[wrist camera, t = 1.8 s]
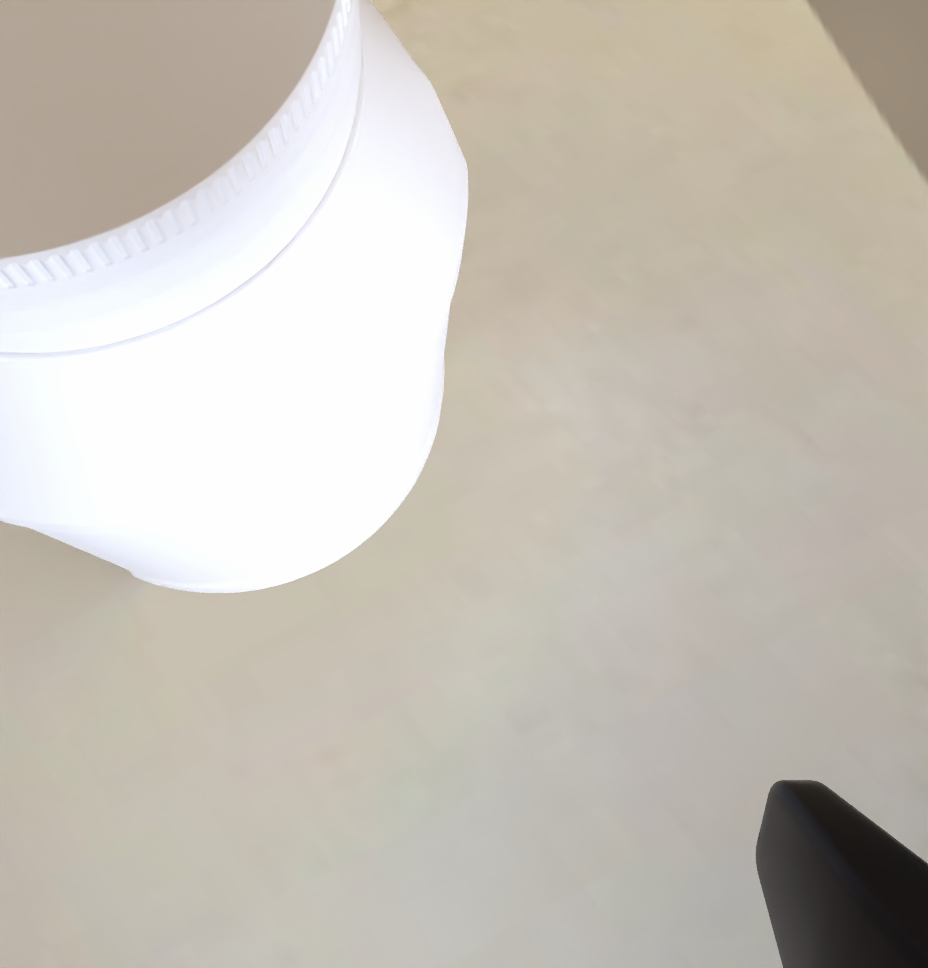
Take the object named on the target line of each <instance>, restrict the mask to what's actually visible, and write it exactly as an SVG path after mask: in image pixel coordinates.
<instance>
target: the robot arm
mask: <svg viewBox="0 0 928 968" xmlns="http://www.w3.org/2000/svg"><path fill="white" fill-rule="evenodd" d="M756 864H757V871H758V875H759V879H760V883H761V886H762V890H763V894H764V898H765V901H766V905H767V909H768V912H769V916H770V920H771V924H772V927H773V931H774V935H775V939H776V942H777V946H778V950H779V954H780V957H781V961H782V965H783V968H928V863H926V862H925V861H924V860H922V859H921V858H920V857H918V856H917V855H916V854H914V853H913V852H912V851H911V850H909V849H908V848H907V847H905V846H904V845H903V844H901V843H900V842H899V841H897V840H896V839H895V838H893V837H892V836H891V835H890V834H888V833H887V832H886V831H884V830H883V829H882V828H880V827H879V826H878V825H876V824H875V823H874V822H873V821H871V820H870V819H869V818H867V817H866V816H865V815H863V814H862V813H861V812H859V811H858V810H857V809H856V808H854V807H853V806H852V805H850V804H849V803H848V802H846V801H845V800H844V799H842V798H841V797H840V796H838V795H837V794H836V793H835V792H833V791H832V790H831V789H829V788H828V787H827V786H825V785H823V784H822V783H820V782H818V781H812V780H782V781H778V782H776V783H775V784H773V786H772V787H771V789H770V792H769V794H768V799H767V803H766V807H765V811H764V815H763V820H762V824H761V828H760V832H759V836H758V841H757V846H756Z"/></svg>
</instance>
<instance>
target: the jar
mask: <svg viewBox="0 0 928 968" xmlns="http://www.w3.org/2000/svg"><path fill="white" fill-rule="evenodd" d="M467 208H468V169H467V164H466V161H465V159H464V156H463V154H462V151H461V149H460V147H459V144H458V142H457V140H456V137H455V135H454V133H453V130H452V128H451V126H450V123H449V121H448V119H447V117H446V114H445V112H444V110H443V107H442V105H441V103H440V101H439V99H438V96H437V94H436V92H435V90H434V88H433V86H432V84H431V82H430V80H429V79H428V77H427V76H426V75H425V74H424V72H423V71H422V70H421V69H420V68H419V66H418V65H417V64H416V62H415V61H414V60H413V58H412V57H411V56H410V54H409V53H408V51H407V50H406V49H405V47H404V46H403V44H402V43H401V42H400V40H399V39H398V37H397V36H396V35H395V33H394V32H393V30H392V29H391V28H390V26H389V25H388V23H387V22H386V21H385V19H384V18H383V17H382V15H381V14H380V12H379V11H378V10H377V8H376V7H375V6H374V4H373V3H372V2H371V0H0V521H3V522H6V523H10V524H14V525H19V526H23V527H28V528H31V529H33V530H35V531H38V532H40V533H42V534H45V535H47V536H49V537H52V538H54V539H56V540H59V541H61V542H64V543H66V544H68V545H71V546H73V547H75V548H78V549H80V550H82V551H85V552H87V553H90V554H92V555H94V556H97V557H99V558H101V559H104V560H106V561H108V562H111V563H113V564H115V565H118V566H120V567H123V568H125V569H127V570H128V571H129V572H130V573H131V575H133V576H134V577H136V578H138V579H141V580H143V581H146V582H149V583H152V584H155V585H159V586H163V587H167V588H172V589H178V590H184V591H192V592H203V593H232V592H244V591H252V590H258V589H263V588H268V587H272V586H276V585H280V584H284V583H287V582H290V581H293V580H296V579H299V578H301V577H304V576H307V575H309V574H311V573H314V572H316V571H318V570H320V569H322V568H324V567H326V566H328V565H330V564H332V563H333V562H335V561H337V560H338V559H340V558H342V557H343V556H345V555H346V554H348V553H349V552H351V551H352V550H354V549H355V548H356V547H358V546H359V545H360V544H362V543H363V542H364V541H365V540H367V539H368V538H369V537H370V536H371V535H372V534H373V533H375V532H376V531H377V530H378V529H379V528H380V527H381V526H382V525H383V524H384V523H385V522H386V521H387V520H388V519H389V517H390V516H391V515H392V514H393V513H394V512H395V510H396V509H397V508H398V507H399V505H400V504H401V503H402V502H403V500H404V499H405V497H406V496H407V494H408V493H409V491H410V490H411V488H412V487H413V485H414V483H415V482H416V480H417V478H418V476H419V474H420V473H421V471H422V469H423V466H424V464H425V462H426V460H427V457H428V455H429V453H430V450H431V447H432V444H433V441H434V438H435V434H436V431H437V427H438V422H439V417H440V412H441V405H442V397H443V388H444V351H445V342H446V334H447V326H448V318H449V310H450V303H451V300H452V297H453V293H454V290H455V286H456V282H457V278H458V274H459V269H460V263H461V257H462V251H463V244H464V236H465V229H466V220H467Z"/></svg>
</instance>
